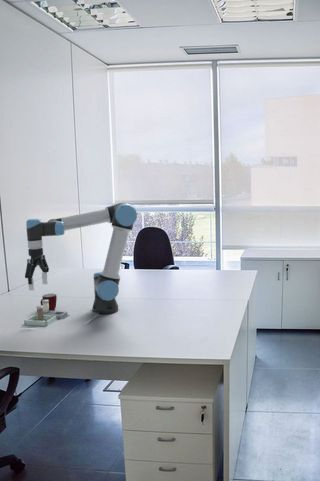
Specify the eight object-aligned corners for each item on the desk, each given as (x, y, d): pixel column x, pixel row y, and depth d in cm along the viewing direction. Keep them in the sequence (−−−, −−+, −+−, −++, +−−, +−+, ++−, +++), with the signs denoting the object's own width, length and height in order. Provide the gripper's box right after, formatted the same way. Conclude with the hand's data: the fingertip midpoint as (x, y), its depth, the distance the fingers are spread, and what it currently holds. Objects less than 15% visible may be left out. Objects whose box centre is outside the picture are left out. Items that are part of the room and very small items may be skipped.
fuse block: (70, 316, 269) (70, 311, 269) (63, 321, 262) (63, 315, 262) (42, 315, 275) (42, 310, 274) (35, 319, 267) (34, 314, 267)
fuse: (50, 315, 271) (49, 299, 269) (47, 316, 267) (46, 301, 266) (45, 314, 272) (44, 299, 270) (42, 316, 268) (40, 301, 267)
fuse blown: (45, 321, 259) (44, 305, 258) (42, 323, 256) (40, 307, 255) (39, 321, 260) (38, 305, 259) (36, 323, 257) (35, 307, 256)
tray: (57, 321, 261) (56, 315, 261) (47, 327, 251) (46, 321, 251) (35, 320, 265) (34, 314, 265) (24, 326, 255) (24, 320, 255)
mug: (37, 313, 279) (35, 296, 278) (44, 309, 287) (43, 293, 285) (53, 314, 276) (52, 297, 275) (59, 310, 284) (58, 293, 282)
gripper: (41, 244, 265) (44, 281, 268) (15, 251, 242) (19, 292, 245) (53, 244, 263) (56, 281, 266) (28, 252, 239) (31, 293, 242)
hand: (38, 287), depth 255 cm, fingers open, 13 cm apart
